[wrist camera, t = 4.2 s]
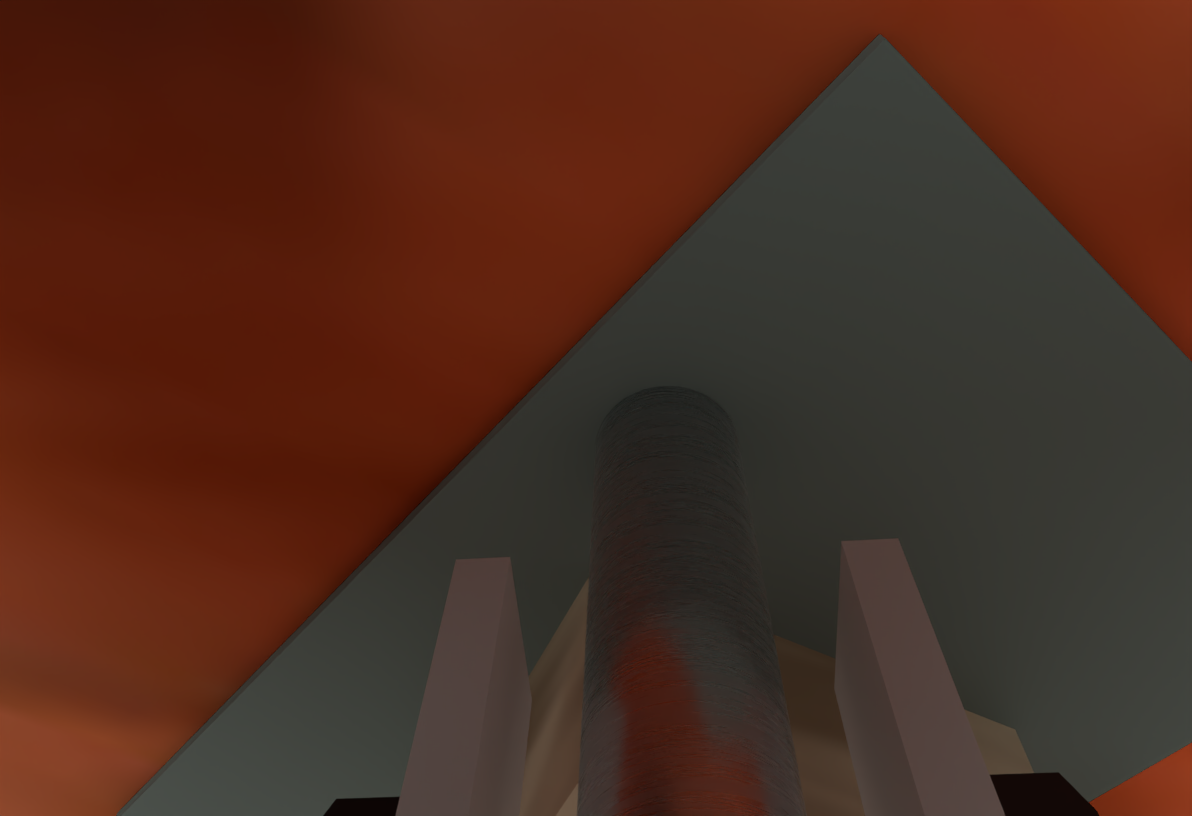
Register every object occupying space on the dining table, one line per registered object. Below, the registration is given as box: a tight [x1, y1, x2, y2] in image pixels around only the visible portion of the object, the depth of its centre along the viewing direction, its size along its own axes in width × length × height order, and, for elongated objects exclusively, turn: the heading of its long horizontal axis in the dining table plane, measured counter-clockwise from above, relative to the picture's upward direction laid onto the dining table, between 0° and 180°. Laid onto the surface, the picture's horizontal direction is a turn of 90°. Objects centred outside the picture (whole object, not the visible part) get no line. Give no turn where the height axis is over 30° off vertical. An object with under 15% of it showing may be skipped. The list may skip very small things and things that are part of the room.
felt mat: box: [116, 34, 1192, 816], centre depth 22 cm, size 24×16×1 cm, turn 138°
